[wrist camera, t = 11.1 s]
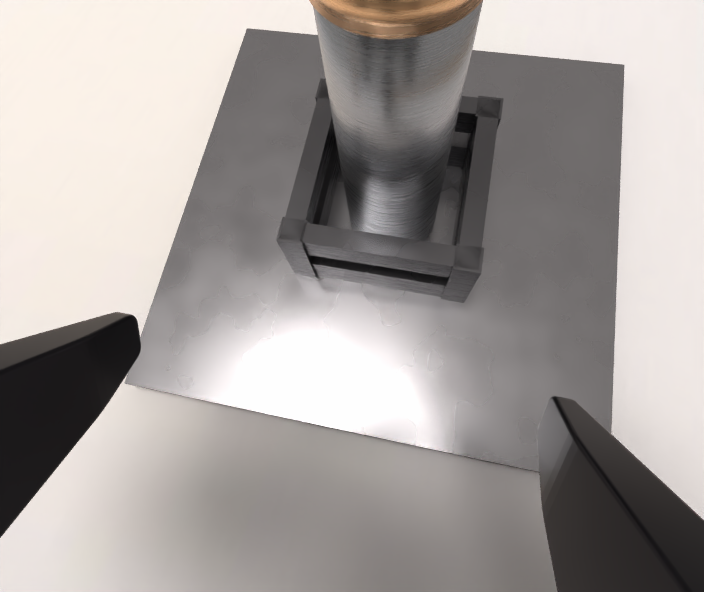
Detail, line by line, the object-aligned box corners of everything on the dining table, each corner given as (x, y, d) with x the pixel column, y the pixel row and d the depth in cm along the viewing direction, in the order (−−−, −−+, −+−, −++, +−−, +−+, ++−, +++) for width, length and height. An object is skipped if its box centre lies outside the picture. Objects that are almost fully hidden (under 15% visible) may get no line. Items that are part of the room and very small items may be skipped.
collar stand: (599, 484, 17) (668, 500, 13) (134, 385, 20) (65, 371, 16) (616, 77, 23) (668, -5, 19) (251, 40, 26) (224, -39, 21)
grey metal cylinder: (378, 273, 20) (358, -60, 7) (329, 202, 21) (232, -196, 8) (457, 225, 20) (589, -179, 7) (405, 158, 22) (433, -289, 8)
